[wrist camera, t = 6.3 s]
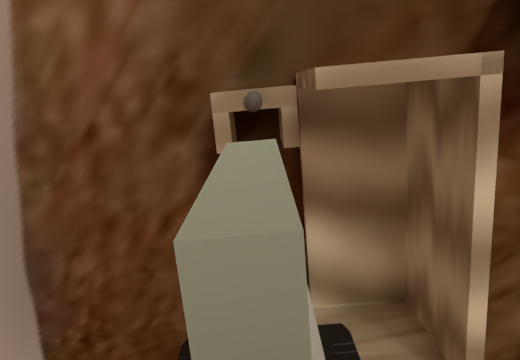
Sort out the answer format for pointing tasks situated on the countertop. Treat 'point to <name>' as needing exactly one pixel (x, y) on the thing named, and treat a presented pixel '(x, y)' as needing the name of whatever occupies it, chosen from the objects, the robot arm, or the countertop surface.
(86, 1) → the countertop surface
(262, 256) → the door
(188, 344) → the robot arm
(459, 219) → the carcass
